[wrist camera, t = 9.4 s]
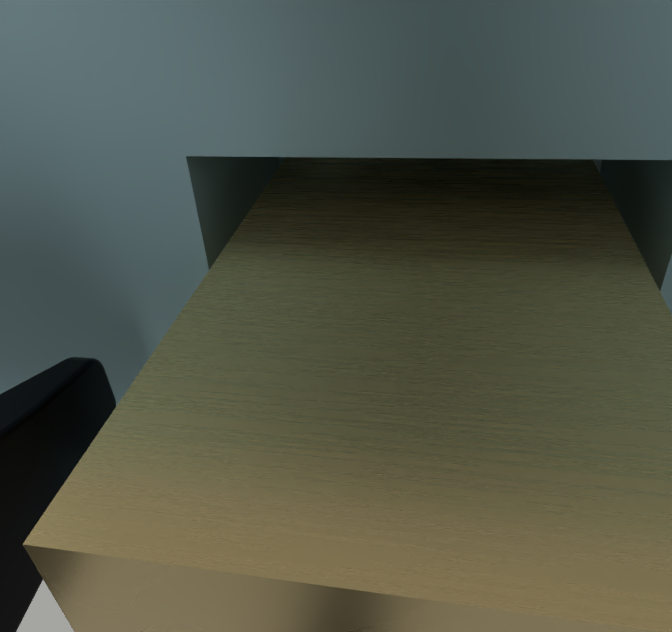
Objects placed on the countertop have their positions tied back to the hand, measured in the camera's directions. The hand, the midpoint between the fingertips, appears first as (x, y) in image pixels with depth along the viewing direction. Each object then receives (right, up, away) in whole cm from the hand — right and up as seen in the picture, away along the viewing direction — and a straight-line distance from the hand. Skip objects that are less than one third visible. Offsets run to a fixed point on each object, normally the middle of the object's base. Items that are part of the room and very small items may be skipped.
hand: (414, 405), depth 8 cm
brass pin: (+1, +3, +4) cm, 5 cm away
